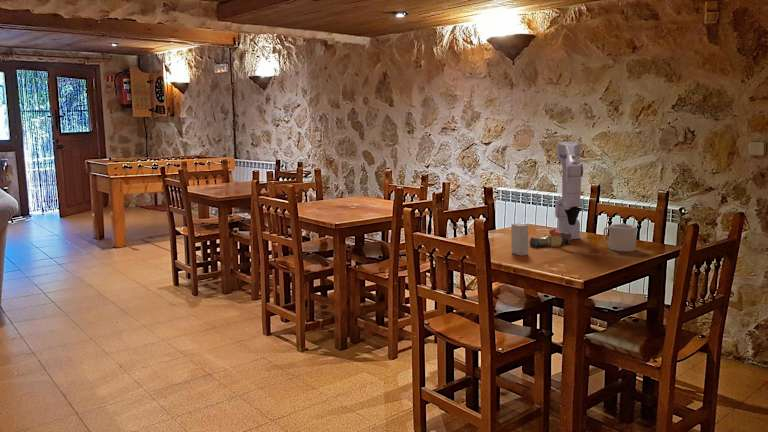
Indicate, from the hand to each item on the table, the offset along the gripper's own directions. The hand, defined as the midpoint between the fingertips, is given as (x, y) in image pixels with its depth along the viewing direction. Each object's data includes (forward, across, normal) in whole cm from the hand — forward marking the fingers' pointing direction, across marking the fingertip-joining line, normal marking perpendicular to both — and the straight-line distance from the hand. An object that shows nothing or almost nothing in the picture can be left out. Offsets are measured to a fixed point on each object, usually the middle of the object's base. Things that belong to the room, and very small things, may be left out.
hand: (571, 224), depth 258 cm
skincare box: (+10, +25, -11) cm, 29 cm away
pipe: (+10, +1, -9) cm, 13 cm away
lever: (+5, +2, -4) cm, 7 cm away
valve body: (+10, 0, -8) cm, 13 cm away
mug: (+10, -11, +16) cm, 22 cm away
